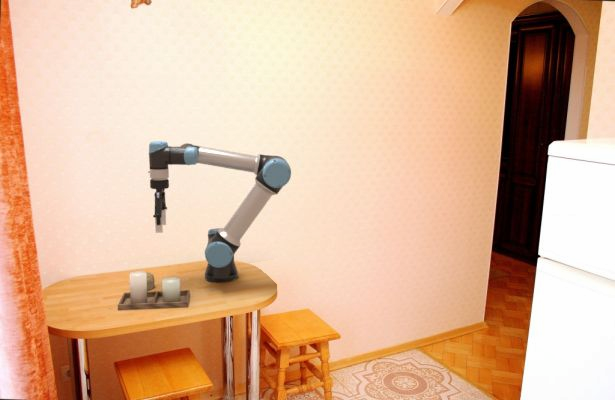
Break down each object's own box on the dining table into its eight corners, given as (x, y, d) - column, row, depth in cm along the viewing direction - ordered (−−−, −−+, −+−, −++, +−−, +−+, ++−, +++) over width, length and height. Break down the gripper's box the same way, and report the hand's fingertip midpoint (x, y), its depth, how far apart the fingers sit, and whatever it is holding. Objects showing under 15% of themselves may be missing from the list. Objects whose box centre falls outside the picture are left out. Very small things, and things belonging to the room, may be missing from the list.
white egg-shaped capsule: (181, 297, 213) (180, 276, 211) (179, 304, 206) (179, 282, 205) (163, 298, 212) (162, 277, 210) (161, 305, 205) (160, 283, 204)
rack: (189, 297, 217) (189, 290, 216) (187, 309, 204) (187, 302, 203) (124, 299, 213) (124, 292, 212) (118, 312, 200) (117, 305, 199)
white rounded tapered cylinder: (148, 299, 211) (147, 270, 209) (146, 305, 205) (145, 276, 202) (131, 299, 210) (130, 271, 208) (129, 306, 204) (128, 276, 201)
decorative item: (140, 302, 220) (153, 285, 217) (122, 287, 220) (135, 270, 218) (151, 295, 229) (163, 278, 226) (134, 280, 229) (146, 264, 227)
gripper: (153, 174, 229) (155, 221, 232) (145, 183, 204) (147, 236, 208) (171, 174, 230) (172, 221, 234) (165, 183, 206) (167, 235, 210)
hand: (161, 228), depth 221 cm, fingers open, 13 cm apart
